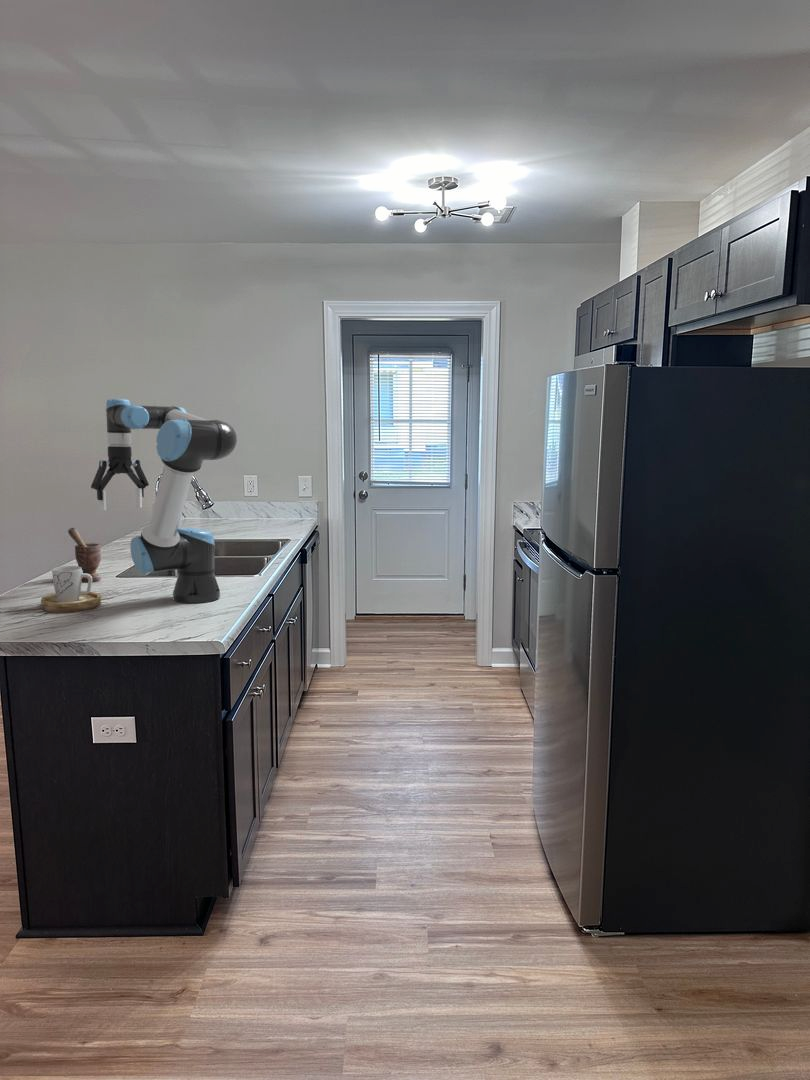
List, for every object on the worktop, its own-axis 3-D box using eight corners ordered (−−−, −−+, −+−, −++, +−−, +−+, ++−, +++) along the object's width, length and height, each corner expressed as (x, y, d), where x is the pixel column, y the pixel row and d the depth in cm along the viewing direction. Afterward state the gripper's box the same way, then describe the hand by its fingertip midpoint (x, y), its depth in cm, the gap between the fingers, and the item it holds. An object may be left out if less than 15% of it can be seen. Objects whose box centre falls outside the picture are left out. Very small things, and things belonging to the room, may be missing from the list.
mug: (95, 596, 243) (94, 565, 242) (90, 602, 235) (89, 570, 234) (56, 597, 241) (55, 566, 239) (50, 603, 233) (49, 571, 231)
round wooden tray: (111, 606, 239) (111, 597, 239) (57, 615, 226) (57, 606, 226) (84, 597, 250) (84, 588, 250) (32, 605, 237) (31, 597, 237)
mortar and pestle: (89, 585, 268) (87, 529, 265) (66, 584, 269) (64, 528, 266) (106, 578, 279) (104, 524, 276) (84, 577, 280) (82, 523, 277)
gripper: (145, 444, 268) (146, 504, 271) (78, 445, 248) (80, 510, 252) (158, 445, 264) (159, 506, 267) (91, 446, 244) (93, 512, 247)
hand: (121, 508), depth 259 cm, fingers open, 13 cm apart
